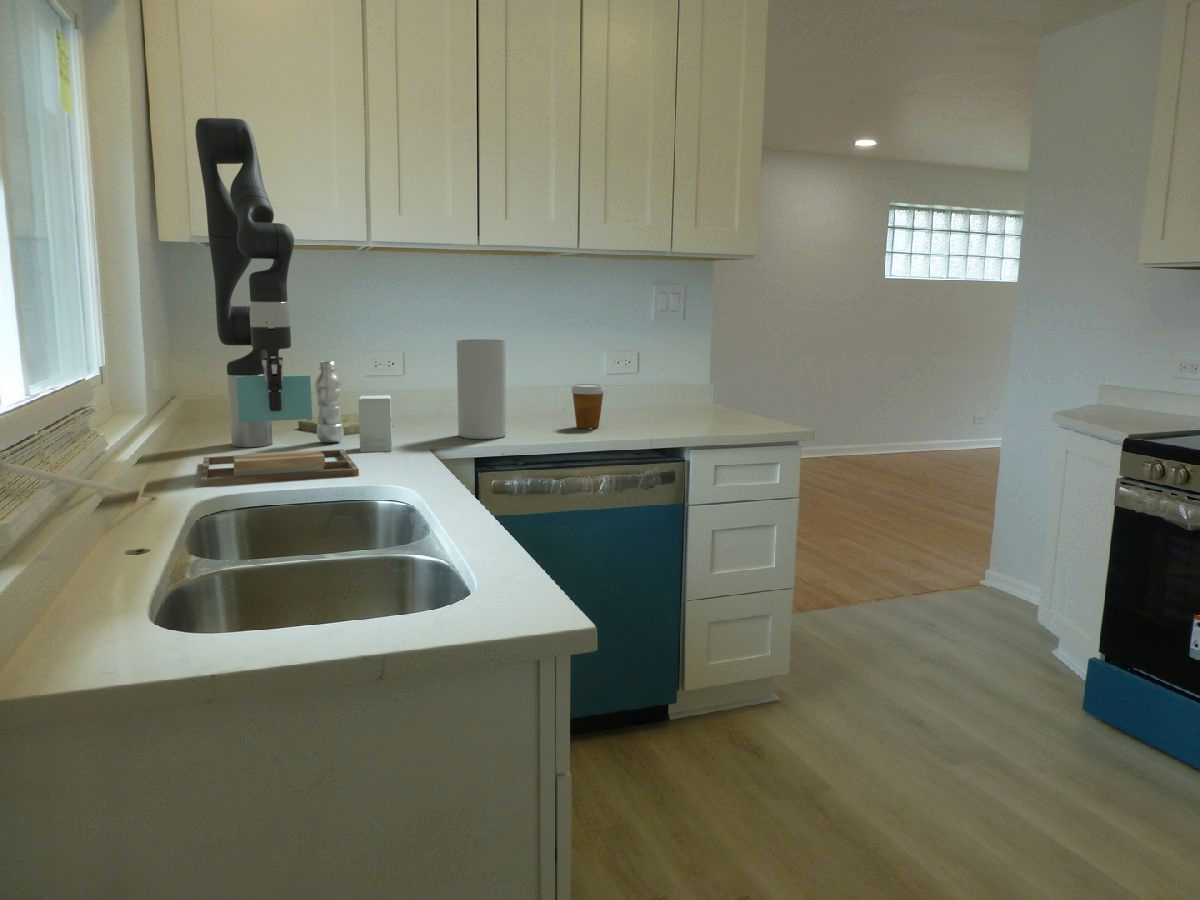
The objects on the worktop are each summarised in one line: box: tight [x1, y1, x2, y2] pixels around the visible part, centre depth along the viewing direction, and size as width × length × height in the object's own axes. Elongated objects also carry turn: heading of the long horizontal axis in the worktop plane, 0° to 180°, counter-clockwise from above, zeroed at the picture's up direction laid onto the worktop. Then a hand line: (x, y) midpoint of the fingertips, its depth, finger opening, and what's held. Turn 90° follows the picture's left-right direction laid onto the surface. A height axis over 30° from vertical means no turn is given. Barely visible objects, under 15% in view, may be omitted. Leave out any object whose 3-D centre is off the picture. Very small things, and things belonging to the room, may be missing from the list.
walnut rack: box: [200, 448, 360, 488], centre depth 172 cm, size 24×28×2 cm
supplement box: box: [357, 394, 393, 453], centre depth 202 cm, size 7×7×13 cm
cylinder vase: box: [456, 338, 507, 440], centre depth 223 cm, size 12×12×25 cm
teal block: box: [236, 374, 313, 422], centre depth 175 cm, size 2×14×9 cm, turn 113°
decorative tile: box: [297, 412, 393, 437], centre depth 236 cm, size 18×20×4 cm
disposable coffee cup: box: [570, 383, 606, 429], centre depth 241 cm, size 10×10×12 cm
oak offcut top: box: [232, 449, 326, 472], centre depth 165 cm, size 7×16×2 cm, turn 116°
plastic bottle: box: [314, 360, 344, 444], centre depth 211 cm, size 6×7×20 cm
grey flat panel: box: [233, 466, 325, 476], centre depth 166 cm, size 7×16×2 cm, turn 113°
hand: (275, 409), depth 175 cm, fingers closed on teal block, 2 cm apart
